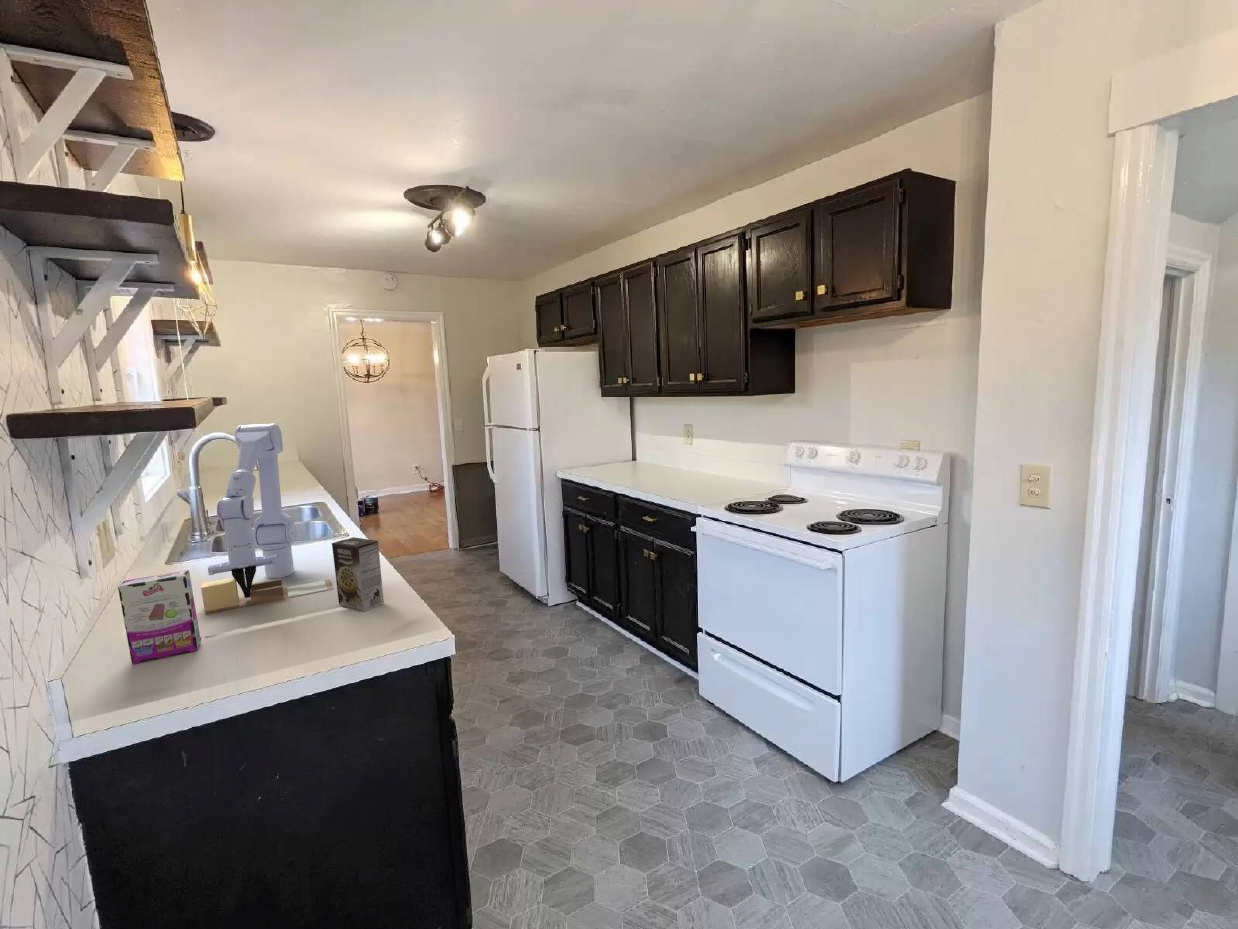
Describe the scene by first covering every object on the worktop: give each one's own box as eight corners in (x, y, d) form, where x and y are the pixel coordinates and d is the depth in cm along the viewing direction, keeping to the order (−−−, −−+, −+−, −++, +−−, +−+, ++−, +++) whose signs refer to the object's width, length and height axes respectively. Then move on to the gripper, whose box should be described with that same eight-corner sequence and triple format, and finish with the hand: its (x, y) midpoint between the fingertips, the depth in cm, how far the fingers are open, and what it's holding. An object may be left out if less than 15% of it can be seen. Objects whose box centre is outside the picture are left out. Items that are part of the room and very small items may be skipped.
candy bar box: (201, 642, 129) (190, 569, 126) (198, 651, 124) (186, 575, 122) (136, 655, 124) (123, 579, 121) (130, 665, 119) (116, 586, 117)
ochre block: (205, 606, 149) (202, 582, 148) (239, 599, 152) (235, 577, 151) (204, 611, 145) (201, 587, 144) (238, 605, 148) (235, 581, 148)
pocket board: (208, 605, 151) (206, 591, 151) (330, 582, 166) (328, 568, 165) (205, 618, 143) (203, 602, 142) (334, 592, 157) (332, 578, 157)
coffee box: (337, 607, 146) (330, 543, 144) (360, 598, 152) (353, 536, 149) (363, 612, 142) (356, 546, 140) (385, 603, 147) (378, 539, 145)
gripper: (204, 553, 142) (212, 608, 144) (274, 542, 150) (281, 594, 152) (206, 546, 148) (213, 599, 150) (273, 536, 156) (280, 587, 158)
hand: (247, 596), depth 151 cm, fingers closed
